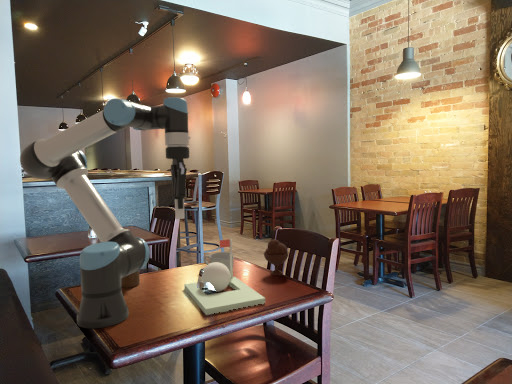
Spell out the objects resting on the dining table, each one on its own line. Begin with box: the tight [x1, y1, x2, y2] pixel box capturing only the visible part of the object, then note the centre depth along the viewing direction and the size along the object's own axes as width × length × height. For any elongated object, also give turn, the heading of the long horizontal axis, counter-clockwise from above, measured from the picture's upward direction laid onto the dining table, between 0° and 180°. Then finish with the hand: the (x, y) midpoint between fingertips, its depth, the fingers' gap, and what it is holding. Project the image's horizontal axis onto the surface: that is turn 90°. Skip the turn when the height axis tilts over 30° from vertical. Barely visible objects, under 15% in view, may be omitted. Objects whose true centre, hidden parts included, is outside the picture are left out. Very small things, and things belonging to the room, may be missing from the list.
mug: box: [121, 270, 140, 289], centre depth 149 cm, size 12×8×9 cm, turn 26°
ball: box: [200, 262, 231, 293], centre depth 141 cm, size 11×11×11 cm
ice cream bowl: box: [263, 238, 290, 276], centre depth 162 cm, size 11×11×15 cm
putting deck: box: [183, 238, 266, 316], centre depth 135 cm, size 28×21×18 cm
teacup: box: [202, 251, 234, 271], centre depth 168 cm, size 14×11×8 cm
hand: (180, 218), depth 123 cm, fingers closed
